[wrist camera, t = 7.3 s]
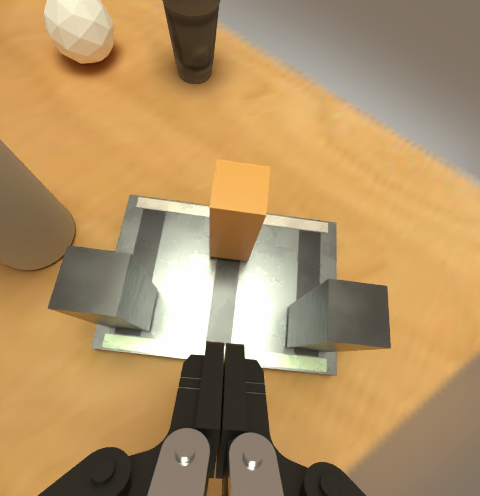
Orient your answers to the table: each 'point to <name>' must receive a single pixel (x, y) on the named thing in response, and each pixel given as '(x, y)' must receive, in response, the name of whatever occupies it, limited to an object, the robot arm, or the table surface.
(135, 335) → the panel
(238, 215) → the handle
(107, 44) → the geometric ball
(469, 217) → the table surface
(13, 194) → the travel mug
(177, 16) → the beverage cup
